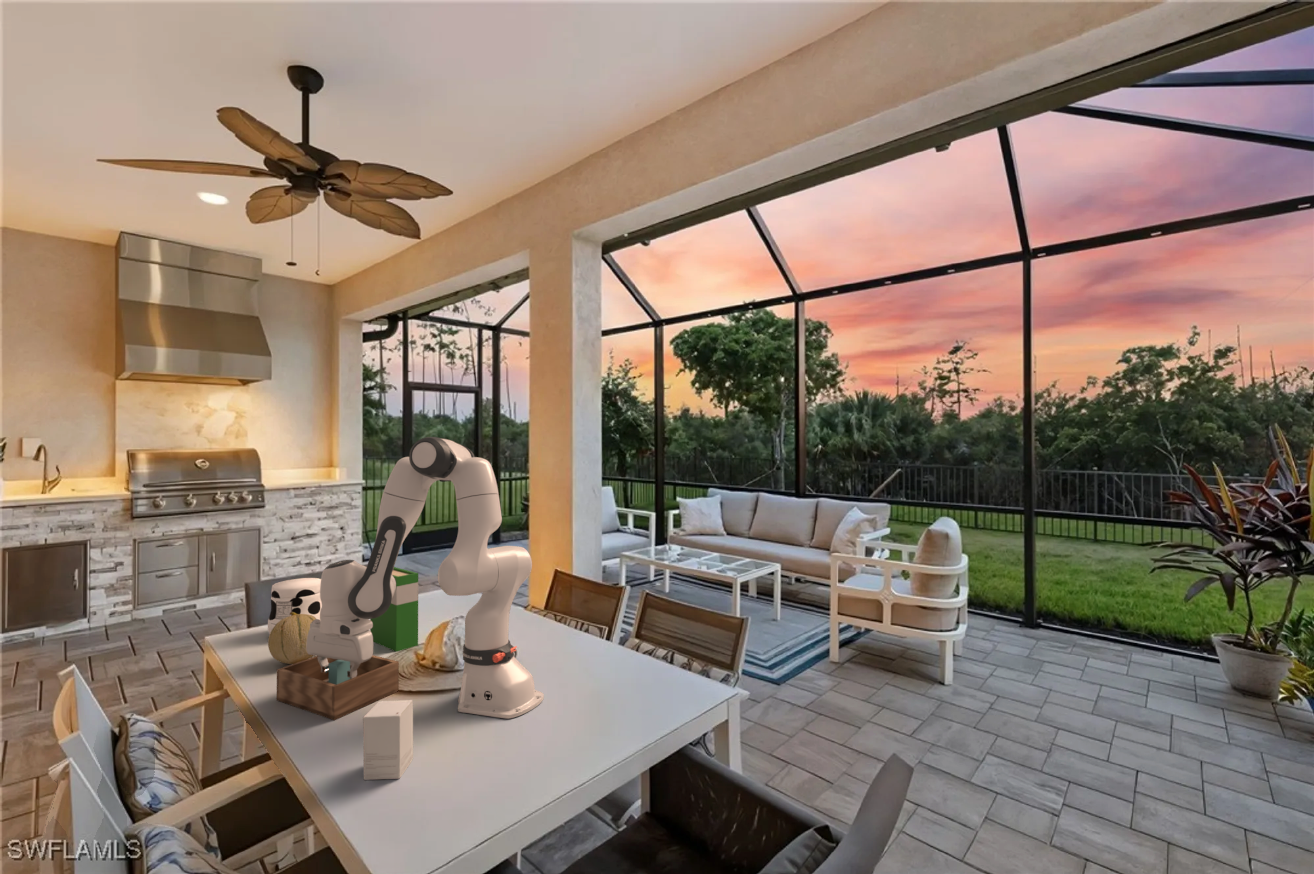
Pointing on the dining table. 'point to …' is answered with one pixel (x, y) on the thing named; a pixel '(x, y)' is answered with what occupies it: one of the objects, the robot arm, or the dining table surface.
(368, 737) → the supplement box
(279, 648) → the cantaloupe
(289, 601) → the milk container
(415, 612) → the hardback book
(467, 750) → the dining table surface
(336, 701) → the walled box
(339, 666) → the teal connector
